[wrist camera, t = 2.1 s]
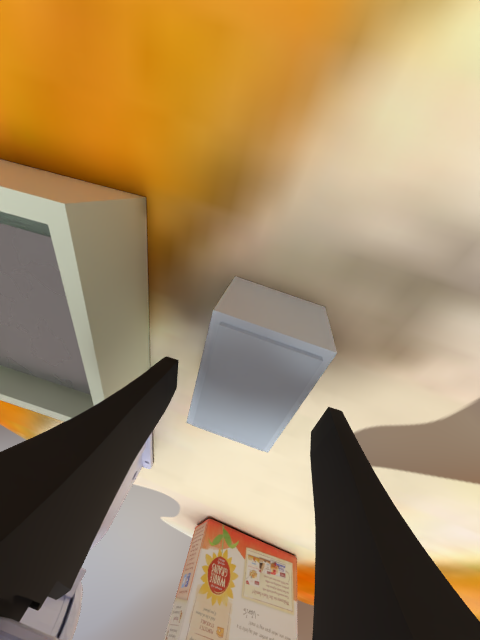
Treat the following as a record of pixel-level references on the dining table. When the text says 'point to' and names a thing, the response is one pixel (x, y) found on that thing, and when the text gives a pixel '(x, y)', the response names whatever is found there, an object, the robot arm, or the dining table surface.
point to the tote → (86, 283)
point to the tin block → (35, 307)
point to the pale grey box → (259, 363)
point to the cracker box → (234, 589)
